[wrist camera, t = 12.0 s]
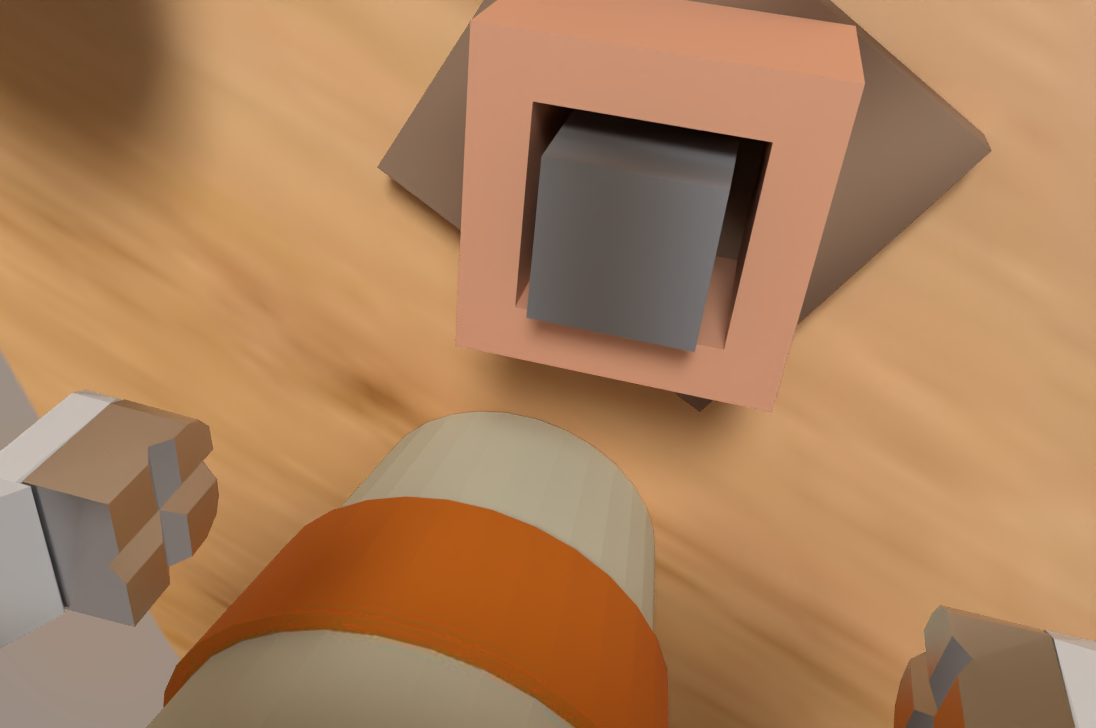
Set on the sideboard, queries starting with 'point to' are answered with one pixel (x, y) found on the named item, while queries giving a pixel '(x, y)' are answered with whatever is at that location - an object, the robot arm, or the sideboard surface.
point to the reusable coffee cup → (448, 598)
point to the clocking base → (865, 189)
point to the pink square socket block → (669, 98)
